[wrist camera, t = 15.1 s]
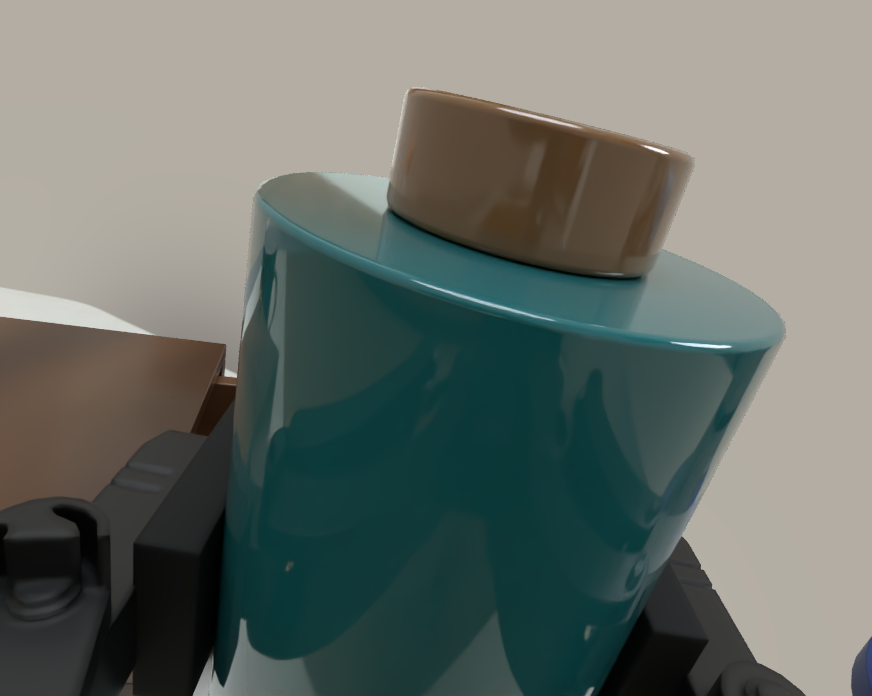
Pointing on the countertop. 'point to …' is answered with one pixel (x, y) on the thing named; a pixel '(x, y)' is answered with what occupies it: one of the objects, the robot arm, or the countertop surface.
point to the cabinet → (91, 404)
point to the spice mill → (471, 411)
